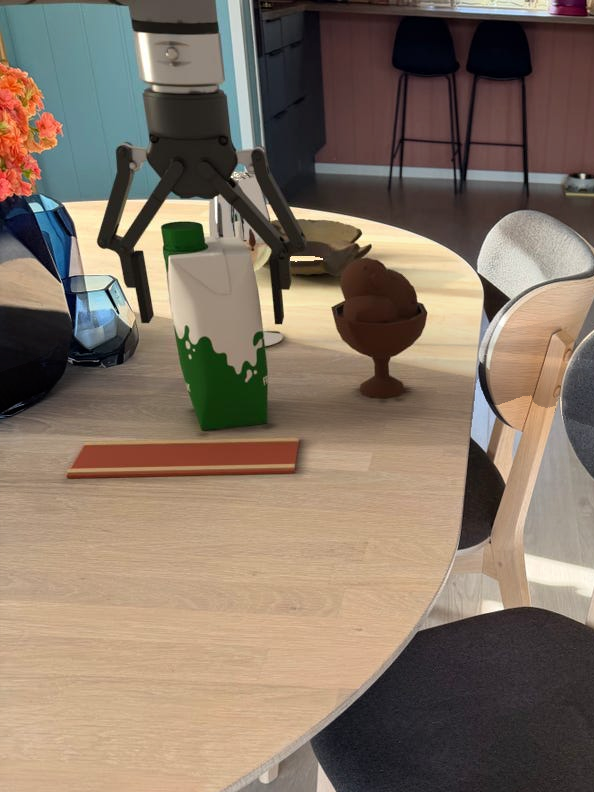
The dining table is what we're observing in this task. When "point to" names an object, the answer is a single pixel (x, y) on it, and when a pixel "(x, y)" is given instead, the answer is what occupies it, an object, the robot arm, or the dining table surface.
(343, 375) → the dining table surface
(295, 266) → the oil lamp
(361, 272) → the ice cream bowl
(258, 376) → the soya milk
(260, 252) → the wineglass
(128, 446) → the reddish-brown flat board
